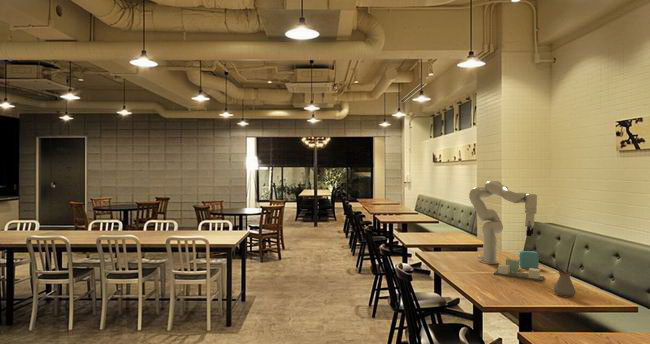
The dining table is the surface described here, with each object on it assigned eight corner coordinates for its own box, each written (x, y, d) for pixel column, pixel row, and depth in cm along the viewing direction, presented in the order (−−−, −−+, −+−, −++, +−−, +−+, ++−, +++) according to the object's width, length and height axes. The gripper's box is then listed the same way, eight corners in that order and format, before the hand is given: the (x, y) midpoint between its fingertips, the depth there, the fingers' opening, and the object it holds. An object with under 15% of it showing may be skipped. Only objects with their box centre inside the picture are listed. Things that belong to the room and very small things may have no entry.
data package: (536, 267, 322) (536, 251, 321) (538, 268, 317) (538, 252, 317) (519, 266, 323) (519, 250, 323) (521, 268, 319) (521, 251, 319)
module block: (505, 270, 310) (505, 259, 310) (507, 269, 314) (507, 258, 314) (517, 272, 306) (517, 261, 306) (518, 271, 309) (519, 260, 309)
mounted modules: (498, 272, 298) (498, 265, 298) (500, 271, 303) (500, 263, 303) (538, 278, 284) (538, 271, 283) (539, 276, 289) (540, 269, 289)
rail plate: (493, 274, 298) (493, 272, 298) (497, 271, 306) (497, 269, 306) (542, 281, 281) (542, 279, 281) (544, 278, 289) (544, 276, 289)
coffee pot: (578, 298, 245) (579, 272, 245) (556, 297, 248) (557, 271, 247) (565, 288, 266) (566, 264, 266) (545, 287, 269) (546, 263, 268)
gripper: (526, 209, 319) (525, 232, 319) (523, 211, 304) (522, 236, 304) (537, 210, 315) (536, 233, 315) (534, 212, 300) (534, 237, 300)
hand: (529, 234), depth 310 cm, fingers open, 9 cm apart
